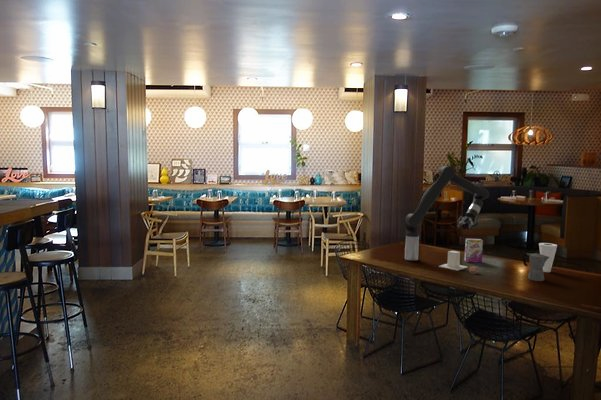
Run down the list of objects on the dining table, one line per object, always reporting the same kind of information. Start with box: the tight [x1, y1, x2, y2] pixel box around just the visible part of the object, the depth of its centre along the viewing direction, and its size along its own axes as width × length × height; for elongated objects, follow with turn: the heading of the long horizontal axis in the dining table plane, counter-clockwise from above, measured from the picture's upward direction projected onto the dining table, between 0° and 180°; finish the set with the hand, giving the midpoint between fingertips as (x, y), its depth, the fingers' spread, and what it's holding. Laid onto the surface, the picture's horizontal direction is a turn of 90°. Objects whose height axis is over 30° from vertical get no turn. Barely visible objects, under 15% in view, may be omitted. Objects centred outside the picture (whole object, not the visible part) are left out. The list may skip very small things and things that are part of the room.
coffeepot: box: [521, 250, 549, 282], centre depth 277 cm, size 15×9×18 cm, turn 54°
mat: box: [438, 263, 468, 272], centre depth 306 cm, size 14×14×1 cm
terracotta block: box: [468, 265, 479, 275], centre depth 290 cm, size 4×4×4 cm
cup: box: [538, 242, 558, 273], centre depth 295 cm, size 11×11×18 cm
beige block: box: [446, 250, 461, 268], centre depth 305 cm, size 6×6×10 cm
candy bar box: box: [464, 238, 484, 263], centre depth 320 cm, size 11×5×16 cm, turn 84°
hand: (464, 229), depth 313 cm, fingers open, 8 cm apart
